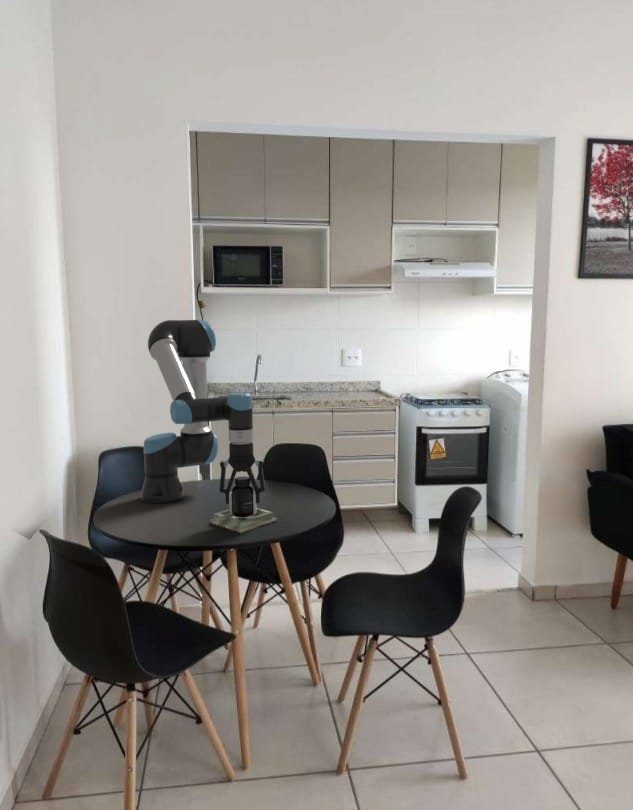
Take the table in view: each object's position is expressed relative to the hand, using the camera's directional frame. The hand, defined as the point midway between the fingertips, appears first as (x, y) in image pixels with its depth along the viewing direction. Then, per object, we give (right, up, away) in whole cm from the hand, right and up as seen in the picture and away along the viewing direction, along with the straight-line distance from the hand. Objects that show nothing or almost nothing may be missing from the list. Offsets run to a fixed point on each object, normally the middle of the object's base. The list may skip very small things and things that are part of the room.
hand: (243, 513), depth 197 cm
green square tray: (0, -3, 0) cm, 3 cm away
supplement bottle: (0, -1, 0) cm, 1 cm away
